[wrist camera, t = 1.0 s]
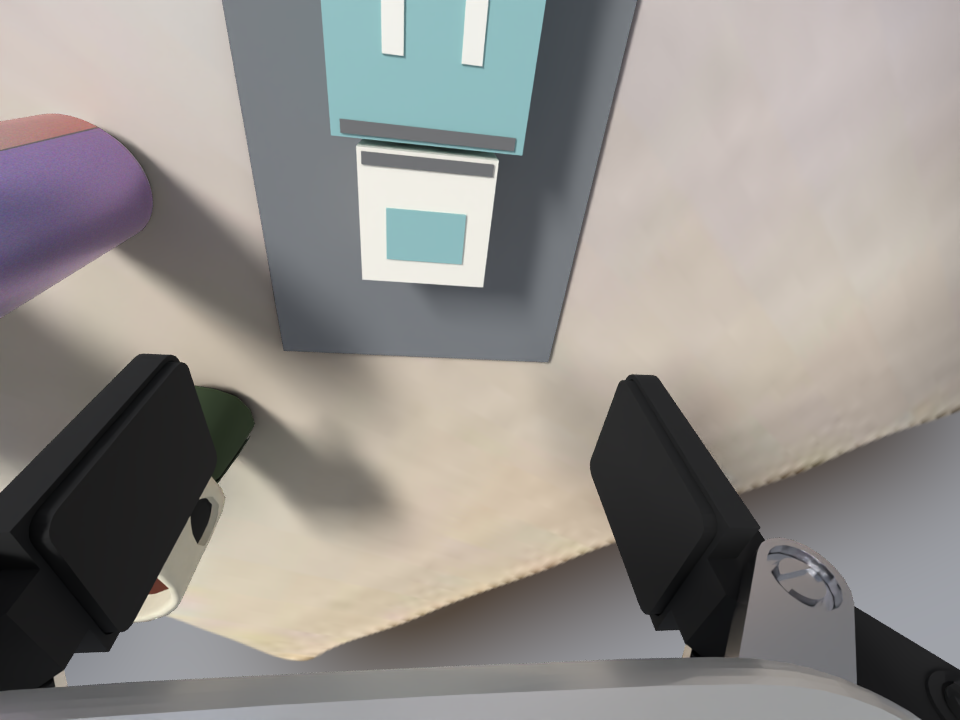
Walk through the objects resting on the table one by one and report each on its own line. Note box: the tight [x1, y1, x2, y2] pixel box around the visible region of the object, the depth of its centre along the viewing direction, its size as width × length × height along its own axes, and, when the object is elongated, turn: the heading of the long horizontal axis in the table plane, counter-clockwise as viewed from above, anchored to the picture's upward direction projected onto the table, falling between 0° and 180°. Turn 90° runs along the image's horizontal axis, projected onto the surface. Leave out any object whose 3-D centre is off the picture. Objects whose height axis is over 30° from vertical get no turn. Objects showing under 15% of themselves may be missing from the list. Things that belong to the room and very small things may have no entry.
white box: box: [356, 139, 499, 287], centre depth 22 cm, size 6×6×5 cm
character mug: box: [133, 386, 255, 623], centre depth 27 cm, size 11×7×13 cm, turn 150°
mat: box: [222, 0, 637, 362], centre depth 22 cm, size 29×18×1 cm, turn 174°
